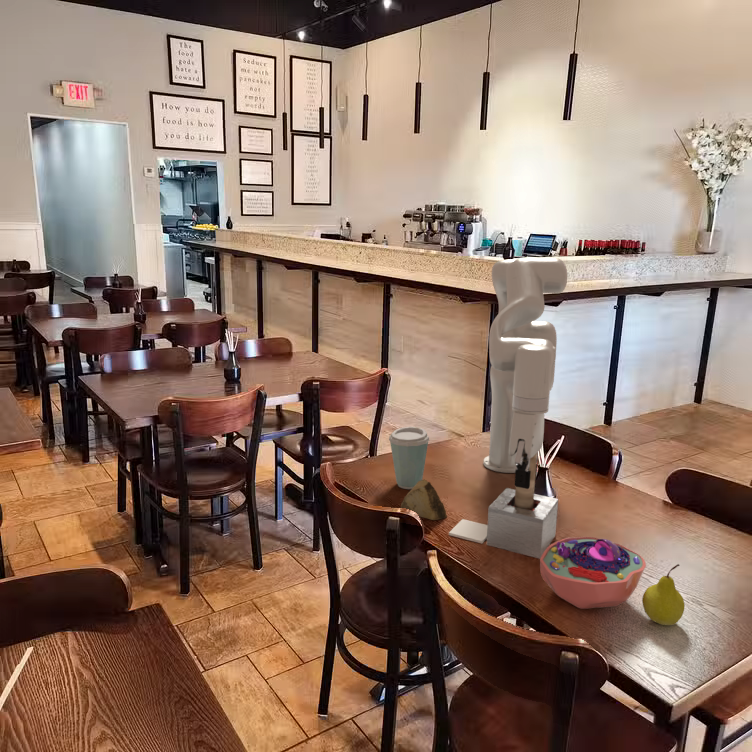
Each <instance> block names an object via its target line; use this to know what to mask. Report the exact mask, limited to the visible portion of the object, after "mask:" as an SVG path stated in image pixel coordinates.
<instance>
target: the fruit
mask: <svg viewBox="0 0 752 752" xmlns="http://www.w3.org/2000/svg"><path fill="white" fill-rule="evenodd" d="M678 567H680V564H679V563H678V564H676V565H674V566H673V567H671V568H670V570H669V571H668V573H667V575H663V576H661V577H660V578H659V580H658V582H657V583H656V584H653V585H650V586H648V587H647V588H646V590H645V591H644V593H643V596H642V598H641V600H642V602H641V603H642V607H643V610H644V612H645V614H646V615H647V617H648V618H649V619H650V620H651V621H652V622H655V623H657V624H659V625H661V626H672V625H676V624H677V623H678V622H679V621H680V619H682V617H683V614H684V611H685V601H684V598H683V596H682V594H681V593H680V592H679V591H678V590H677V589H676V587H675V580H674V578H672V577H671V576H670V573H671V572H672V571H673V570H675V569H676V568H678Z"/></svg>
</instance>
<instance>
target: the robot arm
mask: <svg viewBox="0 0 752 752" xmlns="http://www.w3.org/2000/svg"><path fill="white" fill-rule="evenodd" d="M491 282H492V286H493V289H494V292H495V294H496V298H497V301H498V303H497V304H498V314H497V315H496V316H495V318H494V319H493V321H492V323H491V326H490V329H489V336H488V349H489V351H488V353H489V362H490V364H491V366H490V370H489V372H490V373H489V377H490V388H491V410H490V411H491V414H490V415H491V416H490V430H489V432H490V434H489V449H488V450H489V451H488V452H489V453H488V455H487V456H485V457H484V458H483V461H482V462H483V466H484V467H485V468H487V469H489V470H491V471H493V472H496V473H505V474H506V473H507V474H514V487H515V488H516V487H520V488H525V489H529V487H530V475H531V471H529V468H530V459H531V458H532V457H533V456H534V455H535V454H536V453H537V458H536V472H535V482H536V480H537V474H538V473H537V471H538V470H537V469H538V453H539V451H540V450H542V447H543V444H544V443H543V442H544V433H545V414H547V413H548V412H549V406H550V393H551V390H552V388H553V387H554V382H555V371H556V370H555V369H556V359H557V344H558V343H557V342H558V341H557V339H558V338H557V337H558V336H557V330H556V327H555V325H554V324H553V323H551V322H549V321H547V320H546V321H545V320H542V321H541V320H538V319H539V318H541V317H542V315H543V313H544V311H545V297H544V294H561V293H562V292H564V291H565V289H566V288H567V287H566V286H567V284H568V270H567V266H566V264H565V263H564V261H563V260H562V259H560V258H556V257H555V258H554V257H552V258H551V257H521V258H517V259H515V258H514V259H513V258H512V259H511V258H510V259H503V260H498V261H497V262H495V263H494V264H493V265H492V268H491ZM524 454H527V456H523V455H524ZM523 459H524V460H527V461H526V463H525V462H524V461H523Z"/></svg>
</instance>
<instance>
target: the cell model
mask: <svg viewBox="0 0 752 752" xmlns="http://www.w3.org/2000/svg"><path fill="white" fill-rule="evenodd" d="M646 564H647V563H646V560H645V559H644V557H643V556H642V555H641V554H639V553H638V552H635V551H634V550H632V549H630V548H628V547H626V546H624V545H623V544H620V543H618V542H617V543H616V542H613V541H612V540H609V539H605V538H598V537H591V536H580V537H579V536H578V537H577V536H576V537H565V538H562V539H559V540H556V541H554V542H553V543H550V545H549V546H548V547H547V548H546V550H545V551H544V553H543V555H542V556H541V558H540V559H539V569H540V572H539V573H540V575H541V579H543V580H544V582H545V583H546V584H547V585H548V586H549V588H550V589H551V591H553V592H554V594H556V595H557V596H558V597H559V598H560V599H562V600H564V601H566V602H567V603H569V604H571V605H573V606H575V607H576V608H578V609H580V610H581V609H582V610H587V609H588V610H589V609H594V608H595V609H596V608H597V609H598V608H599V609H600V608H611V607H612V608H613V607H617V606H619V605H622V604H623V603H626V602H627V601H628V600H629V599H630V597H631V596H632V595H633V593H634V592H635V590H636V589H637V587H638V585H639V582H640V580H641V578H642V575H643V573H644V571H645V569H646V566H647V565H646Z"/></svg>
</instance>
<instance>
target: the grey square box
mask: <svg viewBox="0 0 752 752" xmlns="http://www.w3.org/2000/svg"><path fill="white" fill-rule="evenodd" d="M515 490H516V489H513V488H509V487H506V488H505V489H504V490H503V491H502V492H501V493H500V494H499V495H498V496H497V498H496V499H494V500H493V502H492V503H491V504H490V505H489V506H488V509H487V510H488V511H487V512H488V513H487V525H488V527H487V539H486V546H489V547H494V548H497V549H501V550H505V551H509V552H513V553H516V554H520V555H524V556H528V557H532V558H534V559H535V558H536V559H539V560H540V558H541V556H542V555H543V553H544V551H545V550H546V548H547V547H548V546H550V545H551V544H552V541H554V540H553V539H555V536H556V531H557V521H558V520H557V519H558V518H557V517H558V509H559V508H558V506H559V505H558V504H559V499H558V498H556V497H550V496H546V495H541V494H536V493H534V501H533V508H534V511H531V510H526V509H522V508H517V507H513V506H515Z"/></svg>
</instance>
